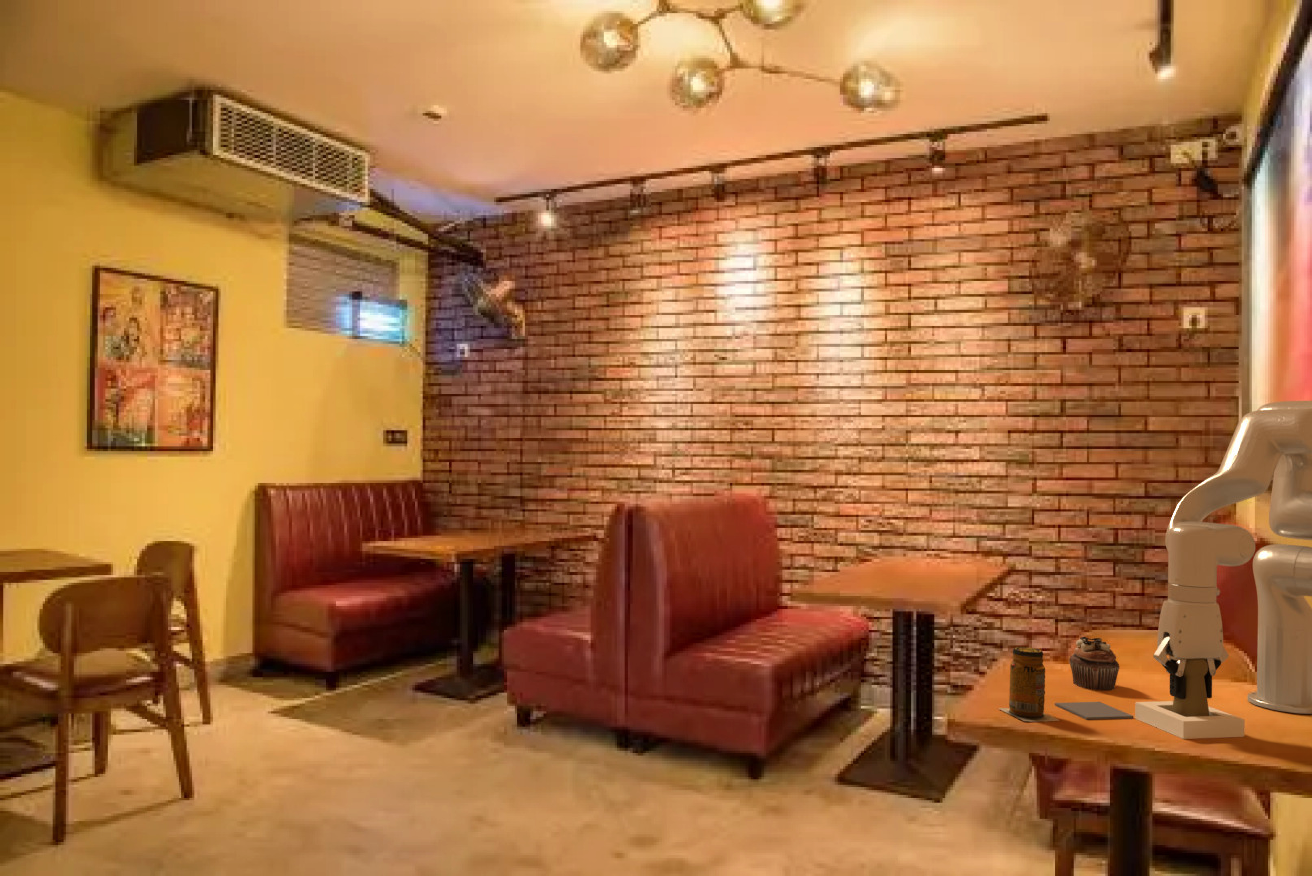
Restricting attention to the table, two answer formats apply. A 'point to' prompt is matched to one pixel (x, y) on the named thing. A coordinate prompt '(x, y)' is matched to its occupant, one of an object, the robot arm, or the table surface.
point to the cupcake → (1094, 665)
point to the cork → (1193, 690)
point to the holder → (1189, 721)
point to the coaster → (1093, 710)
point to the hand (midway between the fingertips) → (1190, 695)
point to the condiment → (1027, 686)
